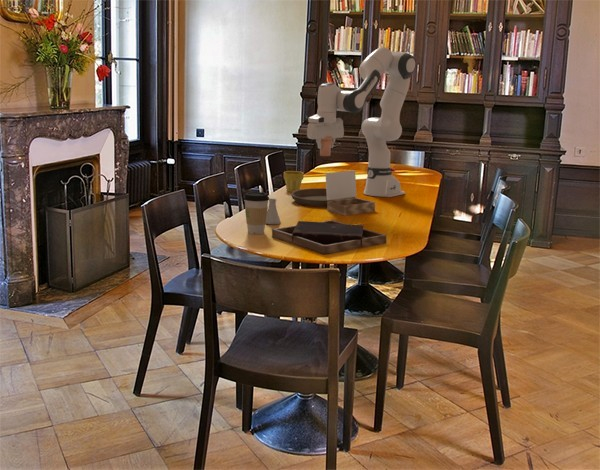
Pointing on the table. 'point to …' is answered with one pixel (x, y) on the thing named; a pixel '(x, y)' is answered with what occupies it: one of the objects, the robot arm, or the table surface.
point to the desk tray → (367, 240)
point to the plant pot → (293, 180)
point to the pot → (326, 146)
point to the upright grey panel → (340, 185)
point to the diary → (328, 232)
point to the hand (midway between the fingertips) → (325, 148)
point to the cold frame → (350, 206)
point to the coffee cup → (256, 211)
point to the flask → (272, 213)
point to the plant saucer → (313, 197)
